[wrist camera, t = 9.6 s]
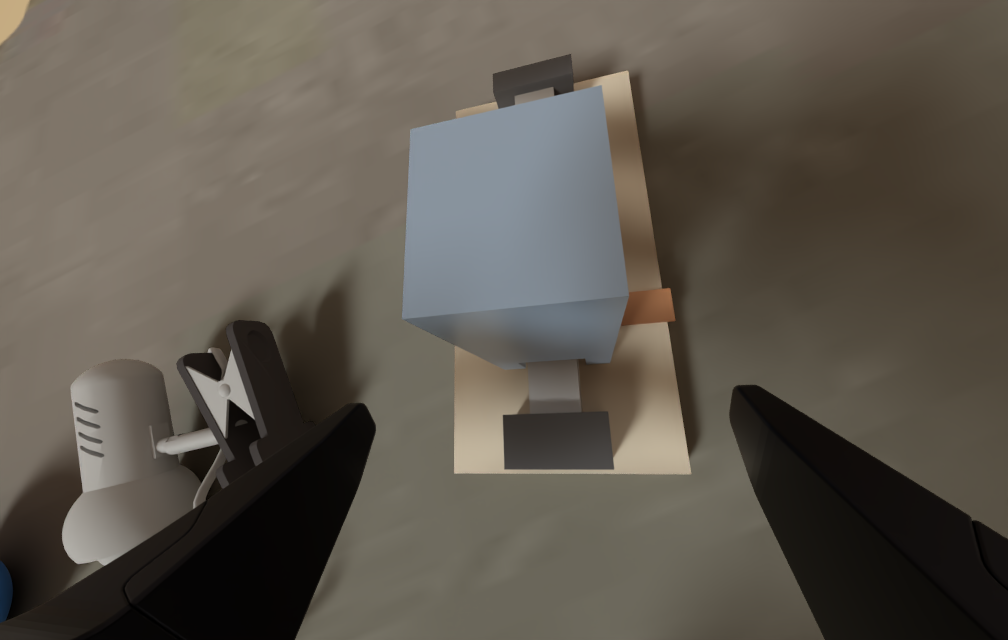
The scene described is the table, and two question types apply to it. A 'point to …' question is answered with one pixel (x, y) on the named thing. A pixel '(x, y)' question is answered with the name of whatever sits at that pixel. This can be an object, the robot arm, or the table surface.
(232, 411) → the clip-on lamp
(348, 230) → the table surface
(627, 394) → the rail
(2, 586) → the blue mole toy
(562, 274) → the pale blue rectangular block
